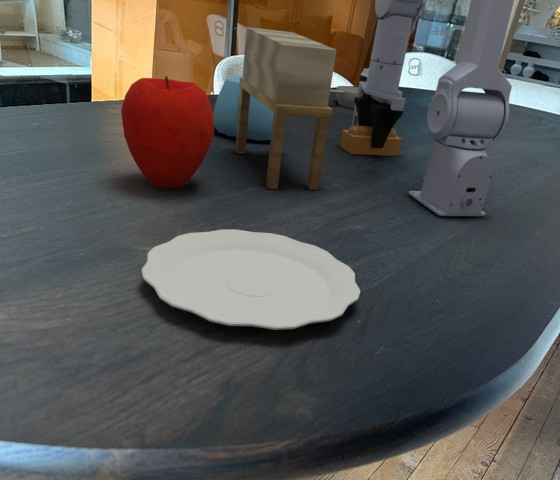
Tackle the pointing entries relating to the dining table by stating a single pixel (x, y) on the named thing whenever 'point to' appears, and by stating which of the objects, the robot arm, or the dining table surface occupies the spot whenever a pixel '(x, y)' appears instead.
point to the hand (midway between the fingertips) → (370, 143)
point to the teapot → (228, 113)
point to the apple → (167, 129)
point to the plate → (250, 279)
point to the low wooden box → (368, 142)
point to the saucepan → (346, 95)
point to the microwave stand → (286, 91)
